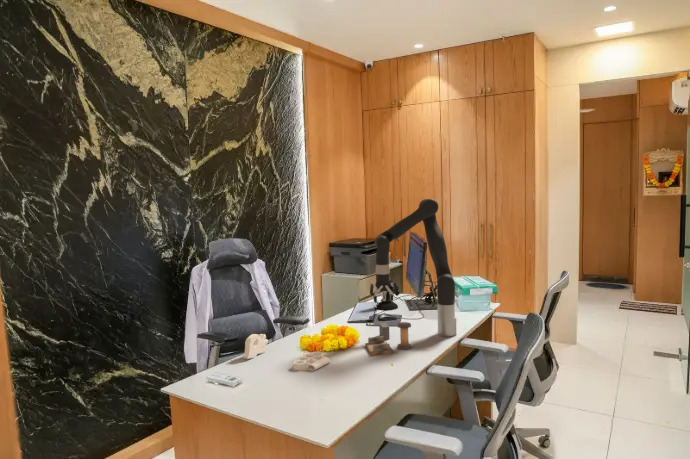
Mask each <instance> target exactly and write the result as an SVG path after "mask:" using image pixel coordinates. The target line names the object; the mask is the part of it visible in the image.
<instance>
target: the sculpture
mask: <svg viewBox="0 0 690 459" xmlns="http://www.w3.org/2000/svg"><path fill="white" fill-rule="evenodd" d="M393 282H395V281H394V280H393V279H392V278H390V283H393ZM389 289H390V290H391V291H393V286H392V285H391V286H390V287H389ZM396 291H397V293H396V294H394V295H395V296H396V297H398V296H399V295H401V292H400V291H399V286H398V285H397V284H396ZM381 292H382V298H381V299H380V301H379V302H377V304H378V305H377V304H376V305H377V308H375V309H376V310H379V311H393V310H394V311H395V310H397V309H398V308H399V306H398V304H397V303H396V302H395V301H392V302H391V301H390V293H389V291H388V290H387V291H381Z"/></svg>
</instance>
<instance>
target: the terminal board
mask: <svg viewBox="0 0 690 459" xmlns="http://www.w3.org/2000/svg"><path fill="white" fill-rule="evenodd" d="M367 341H368V342H365V343H364V344H365V348H366V349H367V351H368V352H369V354H370V356H377V355H378V356H379V355H389V354H390V355H391V354H394V350H393V348H392V347H391V344H390V343H388V342H387V340H384V337H383V336H382V337H380V336H373V337H368V340H367Z"/></svg>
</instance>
